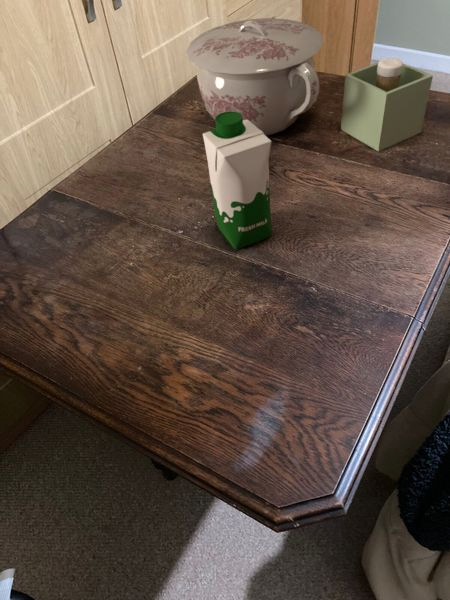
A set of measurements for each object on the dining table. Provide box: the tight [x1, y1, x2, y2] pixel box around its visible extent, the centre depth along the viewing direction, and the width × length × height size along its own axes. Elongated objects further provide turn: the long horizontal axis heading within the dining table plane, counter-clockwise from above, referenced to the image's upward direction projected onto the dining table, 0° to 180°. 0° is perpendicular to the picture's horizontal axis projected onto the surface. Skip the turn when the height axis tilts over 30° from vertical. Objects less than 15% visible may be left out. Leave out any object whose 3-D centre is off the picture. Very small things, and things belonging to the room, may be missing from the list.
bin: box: [340, 61, 434, 152], centre depth 98 cm, size 11×11×12 cm
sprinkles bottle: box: [376, 57, 404, 92], centre depth 97 cm, size 5×5×14 cm
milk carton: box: [202, 111, 273, 251], centre depth 77 cm, size 9×9×20 cm
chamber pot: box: [185, 17, 324, 137], centre depth 103 cm, size 28×28×21 cm
